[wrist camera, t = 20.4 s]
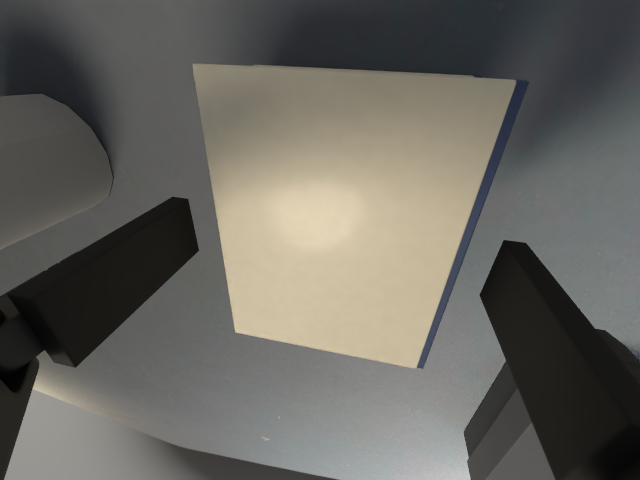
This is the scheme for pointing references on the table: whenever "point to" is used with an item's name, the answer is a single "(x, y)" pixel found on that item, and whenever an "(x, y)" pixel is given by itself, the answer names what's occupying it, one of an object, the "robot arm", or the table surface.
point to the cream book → (349, 198)
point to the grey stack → (504, 437)
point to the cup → (46, 166)
